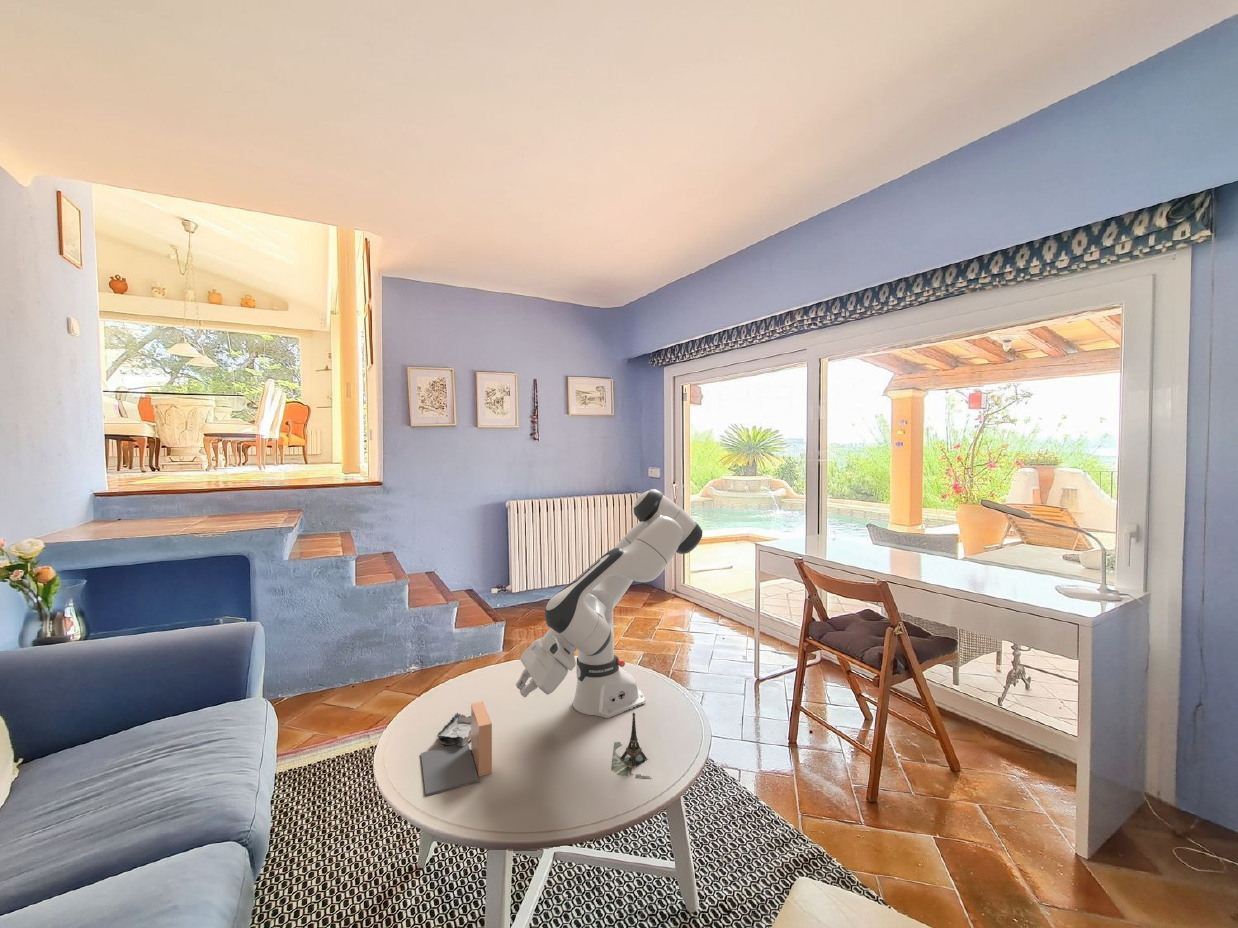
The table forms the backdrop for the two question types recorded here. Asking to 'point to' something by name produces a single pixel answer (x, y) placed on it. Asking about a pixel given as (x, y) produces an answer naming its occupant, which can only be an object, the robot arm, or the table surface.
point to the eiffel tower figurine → (628, 756)
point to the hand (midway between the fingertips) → (519, 691)
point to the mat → (448, 768)
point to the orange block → (481, 738)
